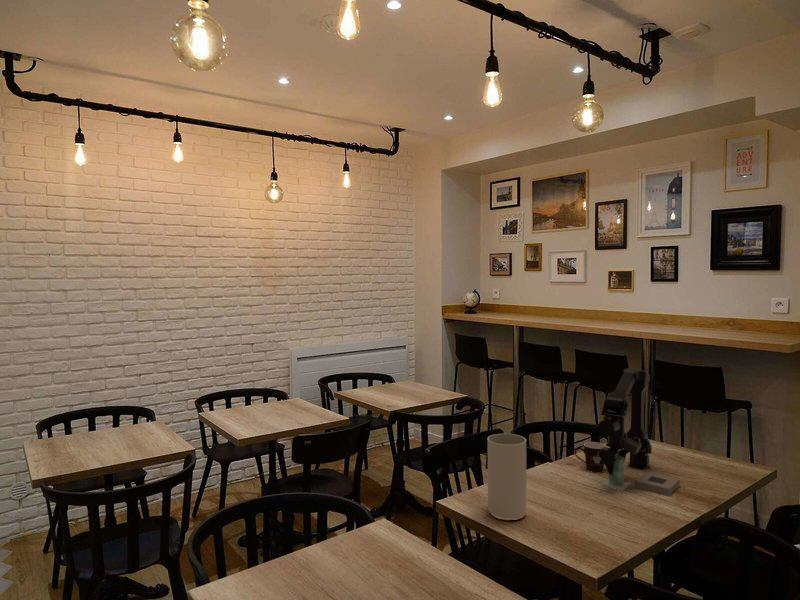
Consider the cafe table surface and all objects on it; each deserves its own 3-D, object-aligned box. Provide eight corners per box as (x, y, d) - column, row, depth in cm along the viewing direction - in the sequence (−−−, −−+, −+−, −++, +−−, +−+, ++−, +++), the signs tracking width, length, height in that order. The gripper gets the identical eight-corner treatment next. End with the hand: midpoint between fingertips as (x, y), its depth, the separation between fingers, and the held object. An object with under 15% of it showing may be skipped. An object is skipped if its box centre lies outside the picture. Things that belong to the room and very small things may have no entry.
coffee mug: (608, 468, 222) (608, 444, 222) (603, 475, 215) (603, 449, 215) (579, 463, 228) (579, 439, 228) (573, 469, 221) (573, 445, 221)
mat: (601, 485, 205) (601, 483, 205) (609, 479, 211) (609, 478, 210) (622, 490, 199) (622, 489, 199) (630, 484, 205) (630, 483, 205)
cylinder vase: (481, 515, 180) (480, 440, 179) (498, 502, 190) (498, 431, 189) (516, 525, 173) (515, 447, 172) (532, 511, 183) (532, 437, 182)
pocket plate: (634, 487, 202) (634, 480, 202) (646, 478, 211) (646, 471, 211) (669, 495, 194) (669, 488, 194) (679, 486, 203) (679, 479, 203)
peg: (608, 483, 205) (608, 457, 204) (613, 480, 208) (613, 454, 207) (619, 486, 202) (619, 459, 202) (623, 483, 205) (623, 456, 205)
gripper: (628, 439, 192) (628, 483, 192) (647, 428, 205) (647, 469, 206) (597, 433, 199) (597, 476, 200) (617, 423, 213) (617, 463, 214)
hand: (616, 471), depth 205 cm, fingers open, 9 cm apart
